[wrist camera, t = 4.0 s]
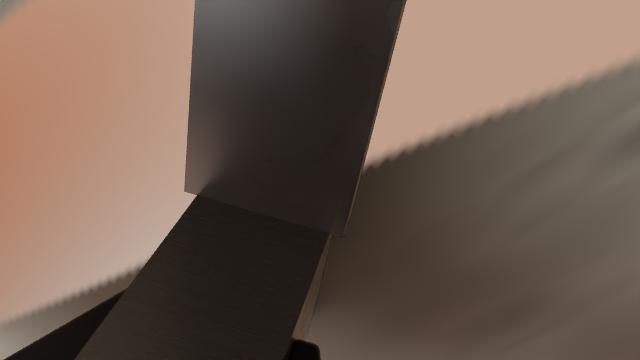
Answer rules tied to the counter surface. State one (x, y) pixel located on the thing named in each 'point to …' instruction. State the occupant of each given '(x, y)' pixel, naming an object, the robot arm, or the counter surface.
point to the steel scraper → (259, 179)
